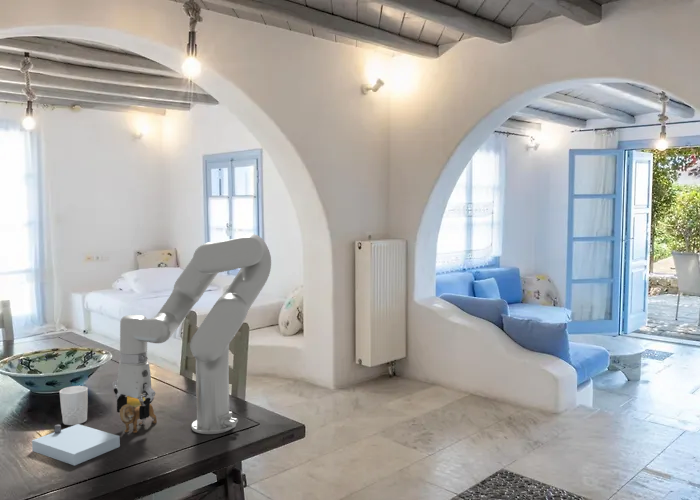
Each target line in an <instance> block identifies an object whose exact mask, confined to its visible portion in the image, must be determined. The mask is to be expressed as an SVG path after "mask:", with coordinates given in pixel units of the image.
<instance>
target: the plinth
mask: <svg viewBox="0 0 700 500" xmlns="http://www.w3.org/2000/svg"><path fill="white" fill-rule="evenodd" d="M120 441H121V440H120V435H118V434H113V433H110V432H108V431H107V432H106V431H103V430H100V429H96V428H94V427H89V426H86V425H83V424H77V425H70V426H68V427H66V428H63V429H62V425H61V424H55V425H54V432H51V433H49V434H48V433H47V434H46V435H43V436H40V437H37V438H34V439H31V444H32V445H31V449H32V452H34V453H37V454H40V455H42V456H45V457H49V458H52V459H53V460H54V459H55V460H57V461H59V462H63V463H66V464H69V465H71V466H77V465H79V464H81V463H84V462H87V461H88V460H91V459H94V458H96V457H99V456H101V455H103V454H105V453H108V452H110V451H113V450H116V449H117V448H120V447H121V444H120V443H121V442H120Z"/></svg>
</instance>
